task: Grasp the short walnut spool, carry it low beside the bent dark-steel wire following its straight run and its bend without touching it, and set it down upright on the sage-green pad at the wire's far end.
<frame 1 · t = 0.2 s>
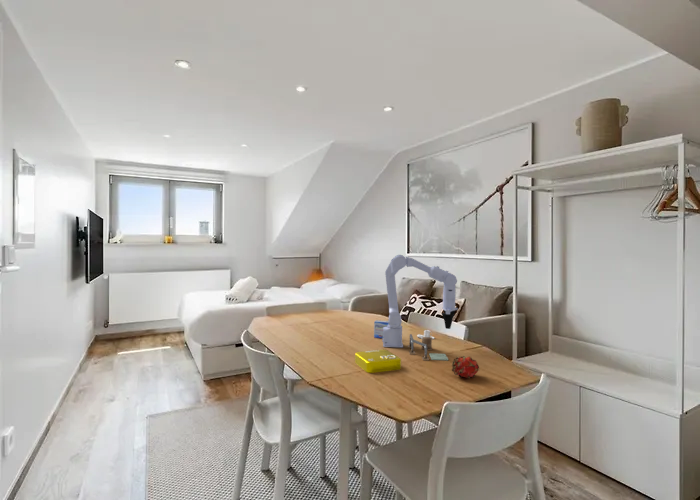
hand: (448, 326, 178), 10 cm above the table, fingers open, 7 cm apart
buzz wire: (410, 347, 177), on the table
dragon fruit: (465, 377, 139), on the table
medicine box: (382, 337, 196), on the table
element tile: (377, 366, 151), on the table
spool: (426, 348, 176), on the table
teacup and saucer: (423, 337, 200), on the table
pad: (438, 357, 162), on the table
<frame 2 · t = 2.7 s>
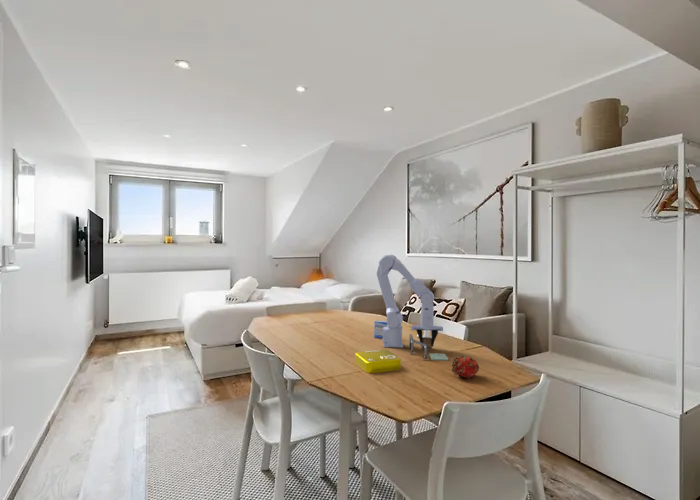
hand: (426, 345, 176), 1 cm above the table, fingers closed on spool, 4 cm apart
spool: (426, 348, 176), on the table, touching gripper
everything else where it was.
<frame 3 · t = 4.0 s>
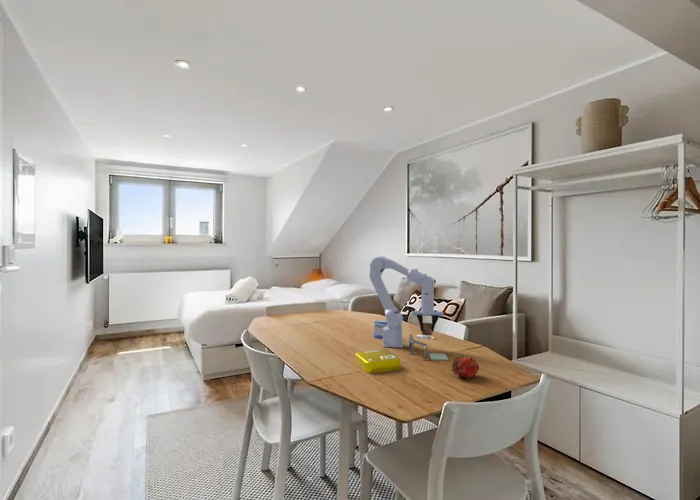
hand: (427, 331, 175), 8 cm above the table, fingers closed on spool, 4 cm apart
spool: (427, 334, 175), point 7 cm above the table, touching gripper
everything else where it was.
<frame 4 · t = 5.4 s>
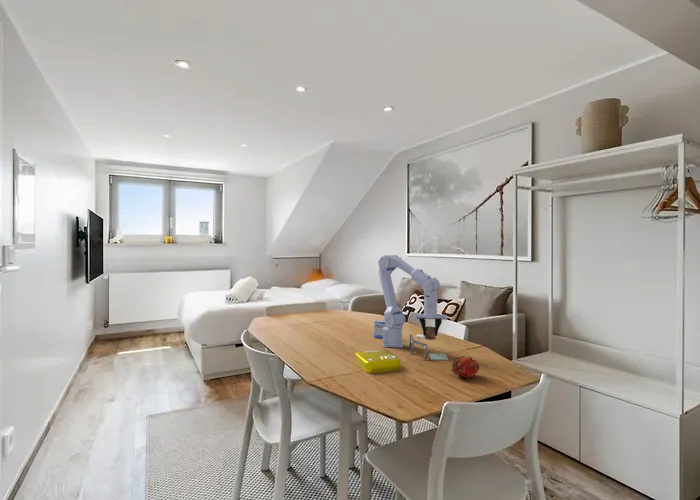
hand: (430, 335, 167), 8 cm above the table, fingers closed on spool, 4 cm apart
spool: (430, 338, 167), point 7 cm above the table, touching gripper
everything else where it was.
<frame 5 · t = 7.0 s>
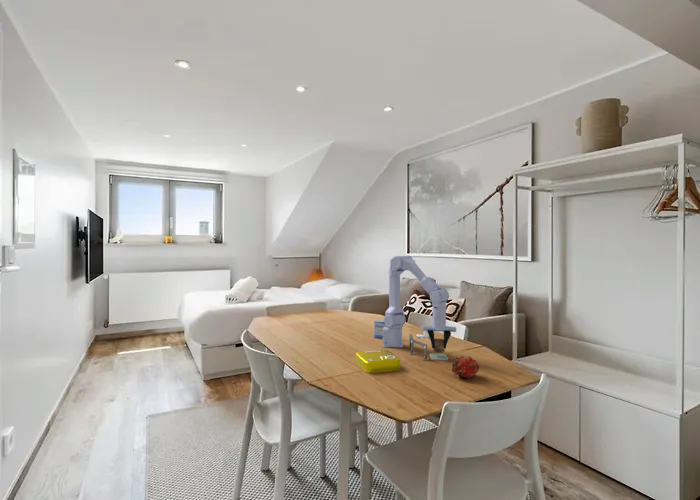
hand: (438, 347, 162), 4 cm above the table, fingers closed on spool, 4 cm apart
spool: (438, 351, 162), point 3 cm above the table, touching gripper
everything else where it was.
when the fingers open (3 cm above the table, at t = 8.1 s): spool stays where it is, resting on pad.
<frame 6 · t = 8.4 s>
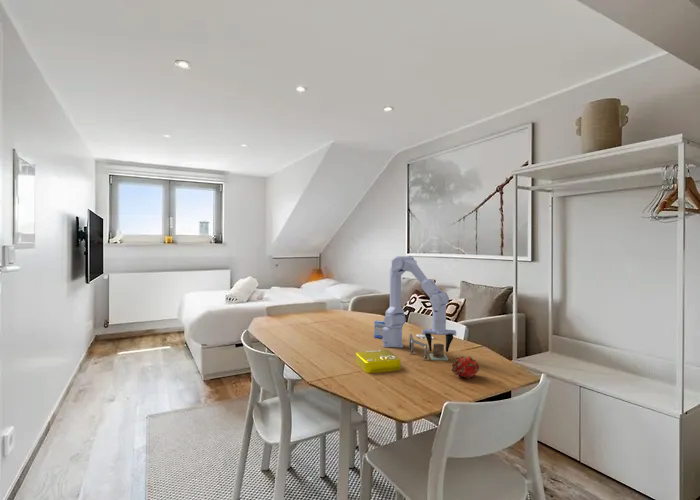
hand: (438, 351, 162), 3 cm above the table, fingers open, 6 cm apart
spool: (438, 356, 162), resting on pad
everything else where it was.
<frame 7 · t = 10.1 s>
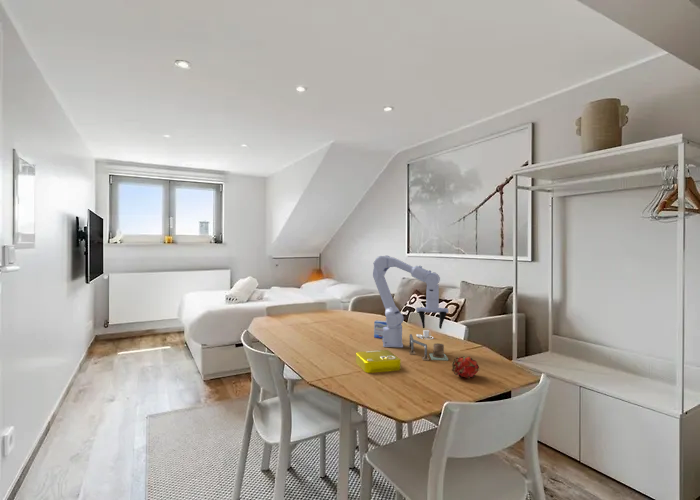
hand: (431, 327, 173), 10 cm above the table, fingers open, 7 cm apart
nothing on the table moved.
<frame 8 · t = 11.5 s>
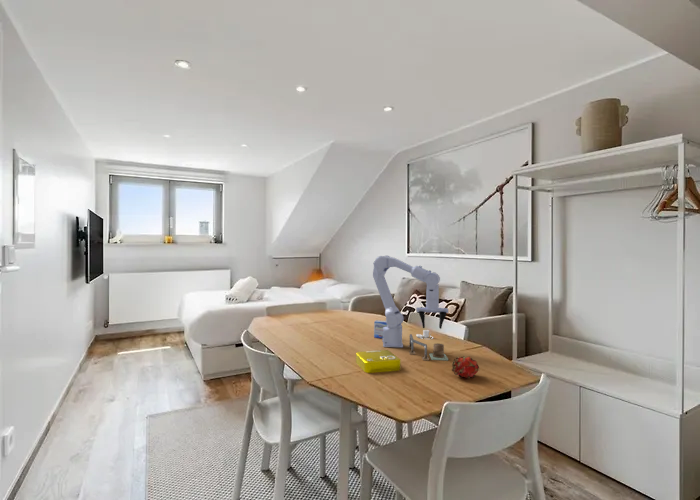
hand: (431, 327, 173), 10 cm above the table, fingers open, 7 cm apart
nothing on the table moved.
at the end: spool inside the target area on the pad (0.0 cm from its centre), point 0.5 cm above the pad's base; spool tilted 0°; spool touching pad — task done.
